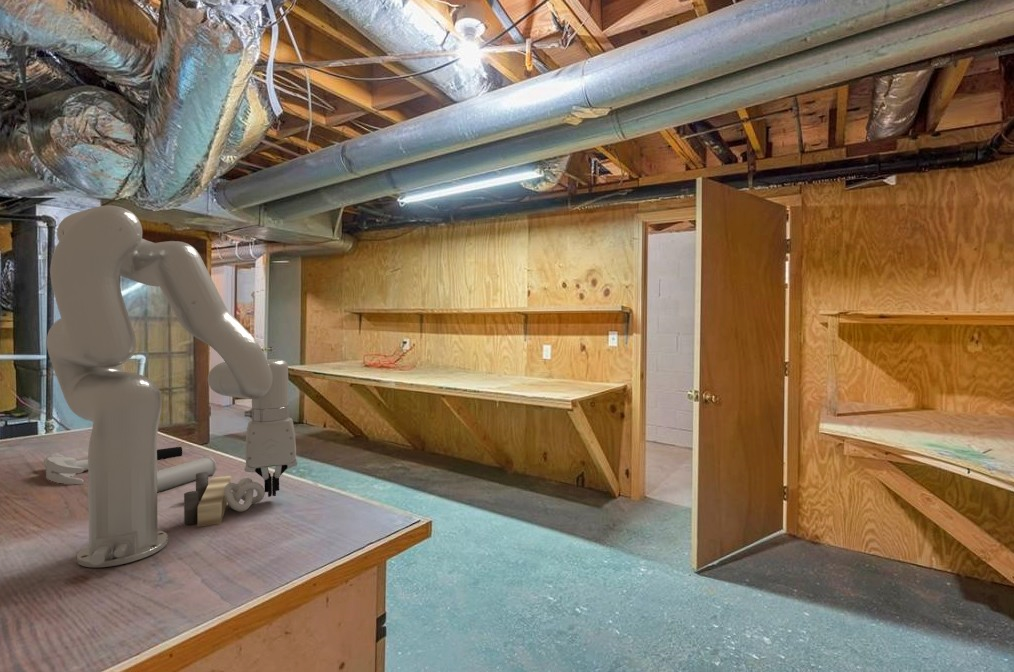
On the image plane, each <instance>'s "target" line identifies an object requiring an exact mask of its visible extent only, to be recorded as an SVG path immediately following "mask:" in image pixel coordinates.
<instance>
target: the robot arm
mask: <svg viewBox="0 0 1014 672" xmlns="http://www.w3.org/2000/svg"><path fill="white" fill-rule="evenodd" d="M56 236H57V240H58V243H57V245H56V247H55V249H54V252H53V254H52V257H51V260H50V269H49V270H50V271H49V273H50V274H49V275H50V283H51V287H52V292H53V294H54V298H55V301H56V306H57V308H58V312H59V315H60V318H59V319H57V320H56V321H55V322H54V323H53V324H52V325H51V327H50V328H49V330H48V333H47V336H46V348H47V353H48V357H49V359H50V362H51V365H52V367H53V371H54V373H55V376H56V378H57V381H58V384H59V387H60V389H61V392H62V395H63V397H64V400H65V402H66V404H67V405H68V408H69V409H70V410H71V412H73V413H74V414H75V415H76V416H77V417H78V418H80V419H83V420H85V421H89V422H92V429H91V432H90V438H89V443H88V453H87V459H88V471H87V472H88V473H87V474H88V475H87V476H88V478H87V479H88V545H85V546H84V547H83V548H81V549H80V550H79V552H77V555H76V562H77V564H78V565H79V566H80V565H81V566H82V567H87V568H108V567H114V566H121V565H124V564H129V563H132V562H136V561H139V560H142V559H145V558H147V557H149V556H152V555H154V554H156V553H158V552H160V551H161V550H162V549H164V548H165V547H166V545H167V544H168V542H169V535H168V533H167V532H165V531H162V530H158V525H159V524H158V522H159V521H158V519H159V518H158V493H157V471H158V460H157V450H158V432H159V425H160V420H161V414H162V407H163V398H162V394H161V393H162V392H161V391H160V389H159V387H158V386H157V384H156V383H155V382H153V380H151V379H150V378H149V377H147V376H144V375H143V374H139V373H135V372H129V371H124V369H123V366H122V364H125V363H126V362H128V361H129V360H130V359H131V358H132V357H133V355H134V354H135V352H136V349H137V337H136V335H135V331H134V328H133V325H132V322H131V319H130V316H129V313H128V310H127V308H126V303H125V300H124V297H123V294H122V290H121V286H120V285H121V284H120V277H123V278H125V279H128V280H129V281H130V280H131V281H133V282H137V283H139V284H143V285H146V286H149V287H159V288H160V290H161V291H162V293H163V295H164V296H165V298H166V300H167V302H168V305H169V306H170V307H171V310H172V311H173V313H174V315H175V316H176V319H177V320H178V323H179V324H180V326H181V327H182V328H183V330H185V331H186V332H187V333H188V334H190V335H191V336H193V337H194V338H196V339H198V340H200V341H201V342H203V343H205V344H206V345H208V346H209V347H210V348H211V349H213V350H214V351H215V352H216V353H217V354H218V355H219V356H220V357H221V358H222V360H223V362H220V363H218V364H216V365H215V366H213V367H212V368H211V370H210V371H209V372H208V375H207V384H208V386H209V388H210V389H211V390H212V391H213V392H214V393H216V394H218V395H221V396H225V397H230V398H239V399H248V400H251V408H250V409H248V410H244V418H250V419H251V420H250V421H248V422H247V427H246V434H245V435H246V436H245V467H244V472H246V473H254V474H255V473H256V474H257V475H259V476H260V477H261V478H262V479H263V480H264V483H263V484H264V491H265V493H267V497H268V498H270V497H277V496H276V495H277V491H280V478H281V476H282V475H283V474H284V473H285V471H286V470H288V469H292V468H294V467H297V466H298V459H297V446H296V445H297V444H296V443H297V442H296V432H295V431H296V430H295V426H294V421H293V418H291V417H290V411H289V410H290V407H289V403H290V402H289V401H290V400H289V366H288V363H287V361H286V360H283V359H275V358H274V359H273V358H272V359H267V358H266V356H265V354H264V352H263V350H262V348H261V346H260V345H259V342H258V341H257V339H255V338H254V336H253V335H252V334H251V333H250V331H248V330H247V328H246V327H244V326H243V325H242V323H241V322H240V321H238V319H237V318H236V317H235V316H233V315H232V313H230V311H229V310H228V308H227V306H226V305H225V303H224V301H223V298H222V296H221V295H220V292H219V291H218V289H217V287H216V285H215V283H214V281H213V279H212V277H211V274H210V272H209V270H208V269H207V266H206V265H205V263H204V259H202V256H201V255H200V253H199V251H198V250H197V249H196V248H195V247H194V246H193V245H190V244H189V243H188V242H187V243H186V242H184V241H178V240H177V241H175V240H169V241H159V242H153V241H150V240H147V239H145V238H143V227H142V224H141V221H140V220H139V218H138V217H137V215H136V214H134V213H133V212H132V211H131V210H129V209H126V208H125V207H121V206H117V205H99V206H96V207H95V206H94V207H91V208H88V209H84V210H82V211H78V212H75V213H71V214H69V215H68V216H66V217H64V218H63V219H62V220H61V221H60V222H59V225H57V230H56ZM270 467H275V468H274V472H273V473H272V475H271V473H270V470H269V468H270Z"/></svg>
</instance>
